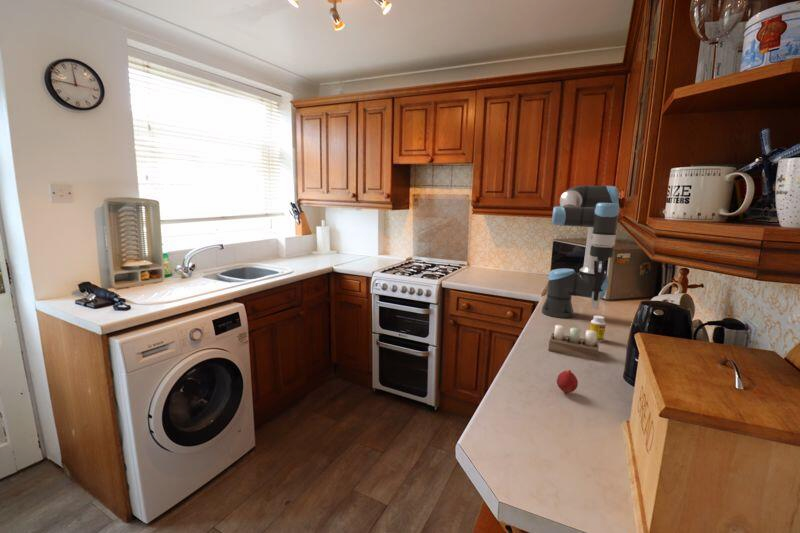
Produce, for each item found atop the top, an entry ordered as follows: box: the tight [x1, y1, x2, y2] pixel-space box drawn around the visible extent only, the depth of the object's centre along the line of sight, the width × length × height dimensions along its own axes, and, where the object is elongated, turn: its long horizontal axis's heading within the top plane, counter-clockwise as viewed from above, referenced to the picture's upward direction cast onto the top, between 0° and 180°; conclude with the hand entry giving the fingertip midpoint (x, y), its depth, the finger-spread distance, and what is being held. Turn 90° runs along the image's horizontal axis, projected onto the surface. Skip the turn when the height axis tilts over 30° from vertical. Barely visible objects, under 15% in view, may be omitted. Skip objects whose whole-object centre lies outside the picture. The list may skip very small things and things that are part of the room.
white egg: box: [584, 329, 597, 347], centre depth 144 cm, size 4×4×5 cm
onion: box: [556, 368, 579, 395], centre depth 115 cm, size 6×6×8 cm
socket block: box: [547, 332, 600, 361], centre depth 147 cm, size 10×17×4 cm, turn 63°
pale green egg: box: [568, 326, 581, 344], centre depth 146 cm, size 4×4×5 cm
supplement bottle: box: [589, 315, 607, 343], centre depth 159 cm, size 6×6×10 cm
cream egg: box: [554, 324, 566, 341], centre depth 149 cm, size 4×4×5 cm
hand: (594, 308), depth 142 cm, fingers closed
